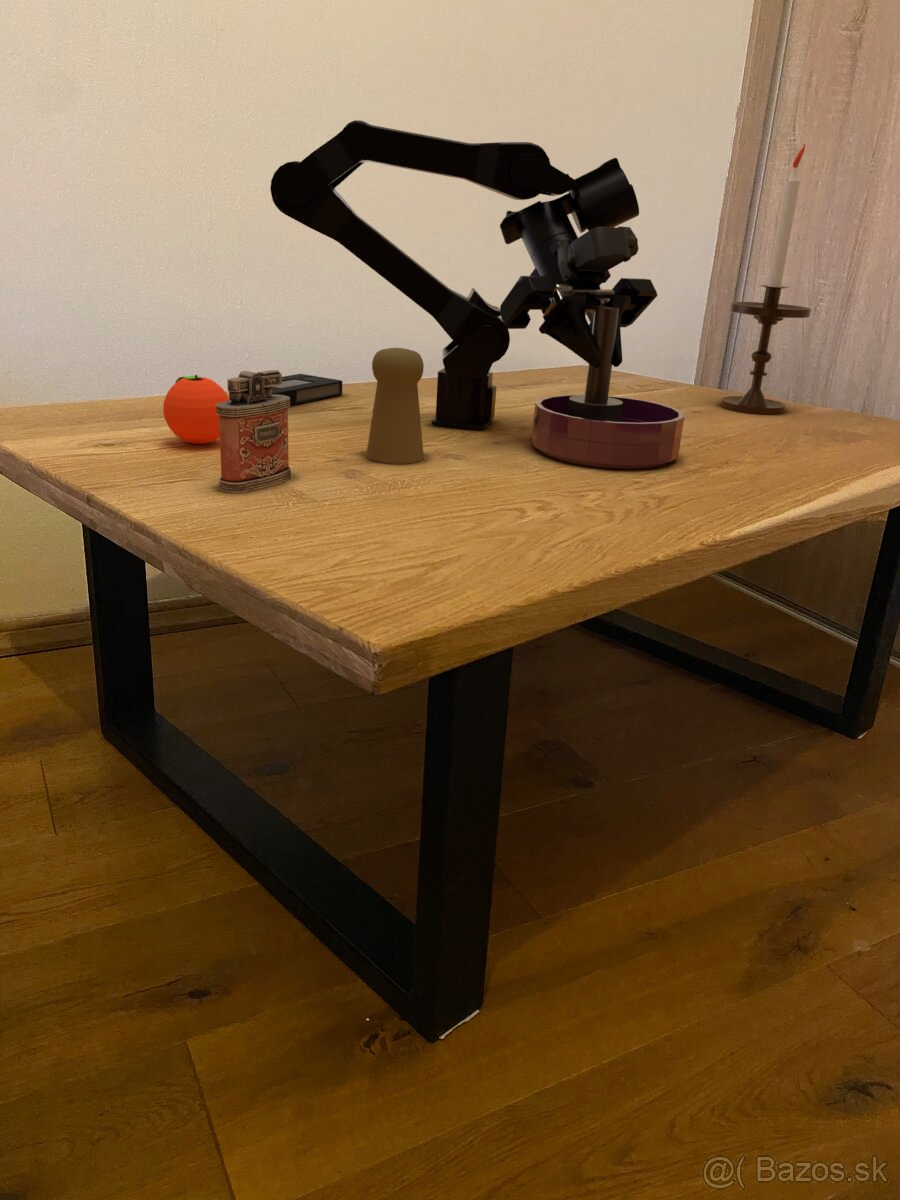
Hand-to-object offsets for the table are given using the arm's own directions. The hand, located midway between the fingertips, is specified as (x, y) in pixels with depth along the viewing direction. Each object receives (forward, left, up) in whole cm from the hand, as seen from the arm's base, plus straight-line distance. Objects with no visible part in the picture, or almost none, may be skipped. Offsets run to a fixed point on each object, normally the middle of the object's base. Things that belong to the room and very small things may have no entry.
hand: (608, 365), depth 101 cm
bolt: (-1, +1, -7) cm, 7 cm away
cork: (-20, -13, -10) cm, 26 cm away
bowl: (+1, -1, -9) cm, 10 cm away
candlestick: (+20, +38, -10) cm, 44 cm away
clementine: (-41, -16, -10) cm, 45 cm away
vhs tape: (-42, +12, -10) cm, 45 cm away
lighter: (-29, -28, -10) cm, 42 cm away
